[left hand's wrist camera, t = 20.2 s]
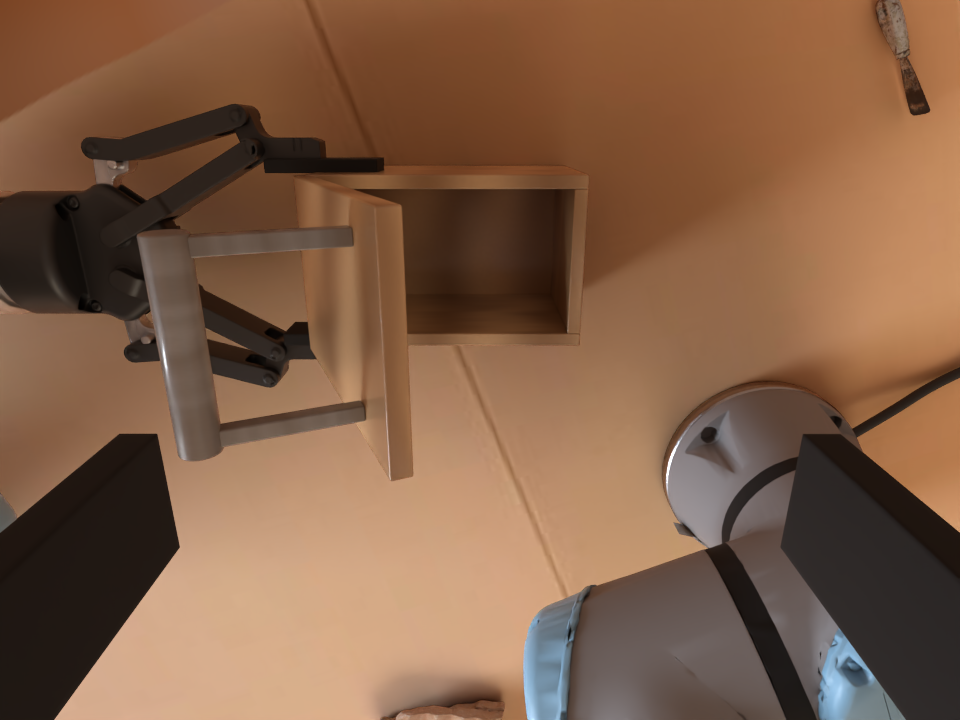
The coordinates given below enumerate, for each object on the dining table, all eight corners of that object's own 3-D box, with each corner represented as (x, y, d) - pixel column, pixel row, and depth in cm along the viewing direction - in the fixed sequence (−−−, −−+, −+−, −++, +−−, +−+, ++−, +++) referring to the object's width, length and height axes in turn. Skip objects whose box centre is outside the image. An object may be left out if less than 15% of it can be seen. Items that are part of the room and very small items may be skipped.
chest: (565, 165, 43) (589, 174, 34) (559, 301, 47) (579, 345, 37) (344, 165, 43) (304, 174, 34) (354, 301, 47) (320, 345, 37)
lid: (402, 204, 19) (121, 217, 16) (413, 477, 23) (182, 529, 20) (310, 175, 33) (148, 179, 30) (325, 347, 37) (182, 366, 34)
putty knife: (885, -7, 40) (901, -13, 38) (922, 109, 42) (939, 108, 40) (869, 2, 40) (885, -3, 38) (907, 118, 42) (924, 117, 41)
